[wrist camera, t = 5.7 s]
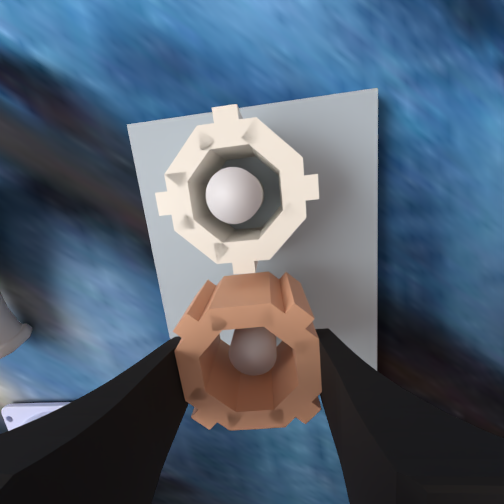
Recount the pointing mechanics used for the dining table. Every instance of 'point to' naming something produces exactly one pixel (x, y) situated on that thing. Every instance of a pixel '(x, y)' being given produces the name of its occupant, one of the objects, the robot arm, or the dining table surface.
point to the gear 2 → (233, 381)
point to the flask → (11, 330)
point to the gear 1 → (210, 162)
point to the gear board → (264, 206)
